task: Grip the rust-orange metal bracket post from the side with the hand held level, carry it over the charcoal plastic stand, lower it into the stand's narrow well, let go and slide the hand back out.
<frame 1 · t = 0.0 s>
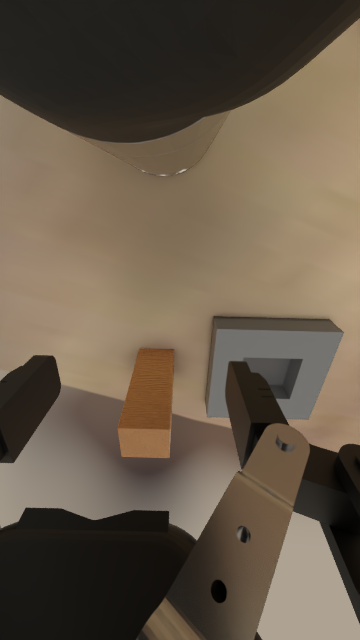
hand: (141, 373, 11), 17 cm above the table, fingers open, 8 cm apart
well stand: (260, 364, 32), on the table
bracket post: (157, 361, 32), on the table
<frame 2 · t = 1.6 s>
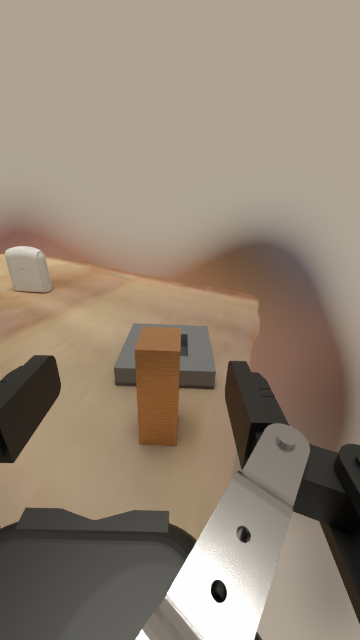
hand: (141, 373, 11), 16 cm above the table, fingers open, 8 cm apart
well stand: (167, 358, 41), on the table
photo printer: (33, 291, 70), on the table
bracket post: (160, 427, 28), on the table
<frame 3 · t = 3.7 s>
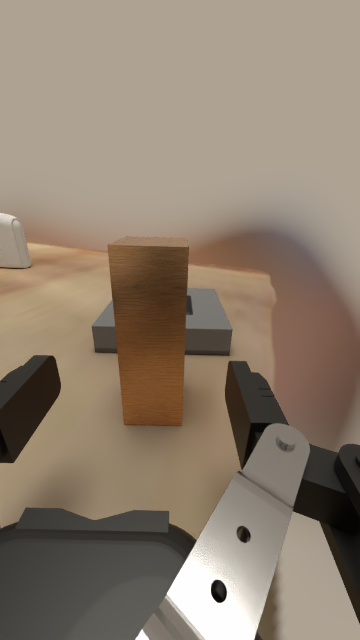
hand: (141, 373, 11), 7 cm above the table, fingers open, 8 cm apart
well stand: (166, 325, 32), on the table
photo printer: (10, 267, 61), on the table
bracket post: (156, 401, 19), on the table
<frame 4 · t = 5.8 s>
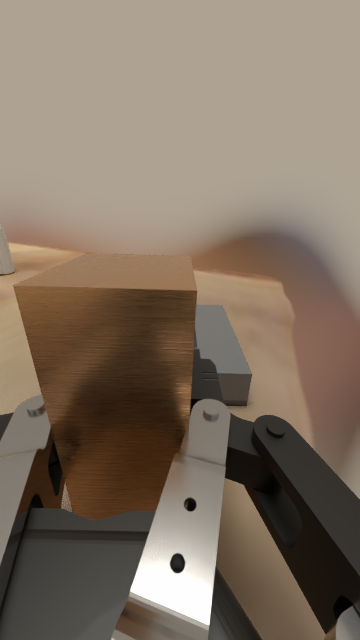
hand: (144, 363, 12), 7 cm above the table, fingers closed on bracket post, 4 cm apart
well stand: (162, 354, 25), on the table
bracket post: (141, 503, 12), on the table, touching gripper
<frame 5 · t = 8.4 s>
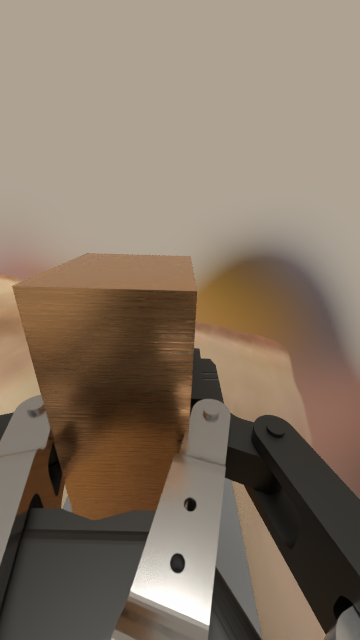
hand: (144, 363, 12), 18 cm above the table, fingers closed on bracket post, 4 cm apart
well stand: (149, 556, 19), on the table
bracket post: (141, 504, 12), point 11 cm above the table, touching gripper
when the fingers open (8 cm above the table, at t = 11.3 s): bracket post drops 1 cm, resting on well stand.
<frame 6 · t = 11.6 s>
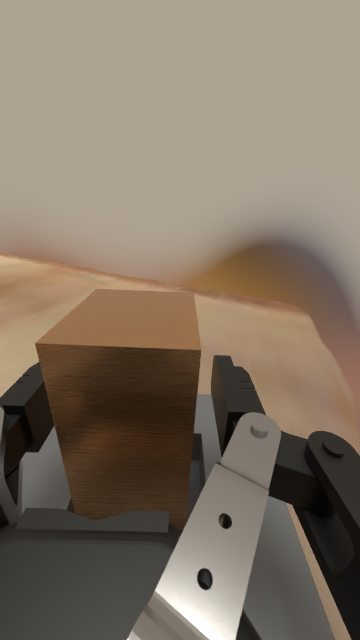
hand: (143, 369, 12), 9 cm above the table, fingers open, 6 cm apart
well stand: (142, 526, 13), on the table
bracket post: (143, 521, 13), point 1 cm above the table, touching well stand
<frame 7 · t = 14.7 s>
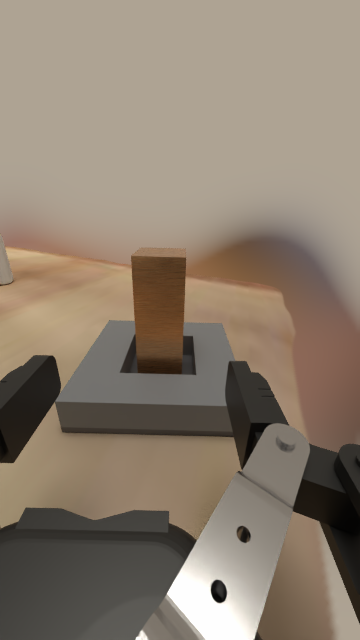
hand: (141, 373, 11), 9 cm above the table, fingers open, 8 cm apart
well stand: (161, 376, 25), on the table
bracket post: (161, 373, 24), resting on well stand
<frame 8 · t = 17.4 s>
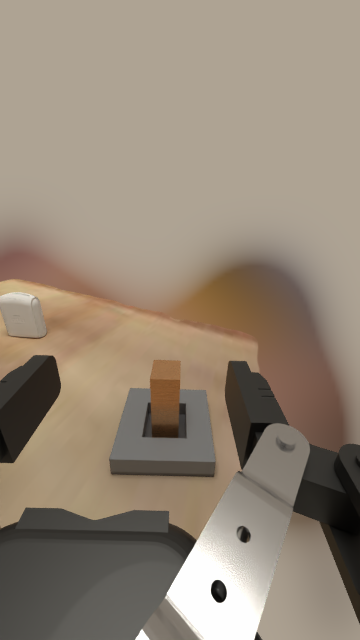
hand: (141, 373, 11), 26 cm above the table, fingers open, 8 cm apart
well stand: (165, 432, 39), on the table
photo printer: (28, 335, 68), on the table
bracket post: (165, 430, 39), resting on well stand
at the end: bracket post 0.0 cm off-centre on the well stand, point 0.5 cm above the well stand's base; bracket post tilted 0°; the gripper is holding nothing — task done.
